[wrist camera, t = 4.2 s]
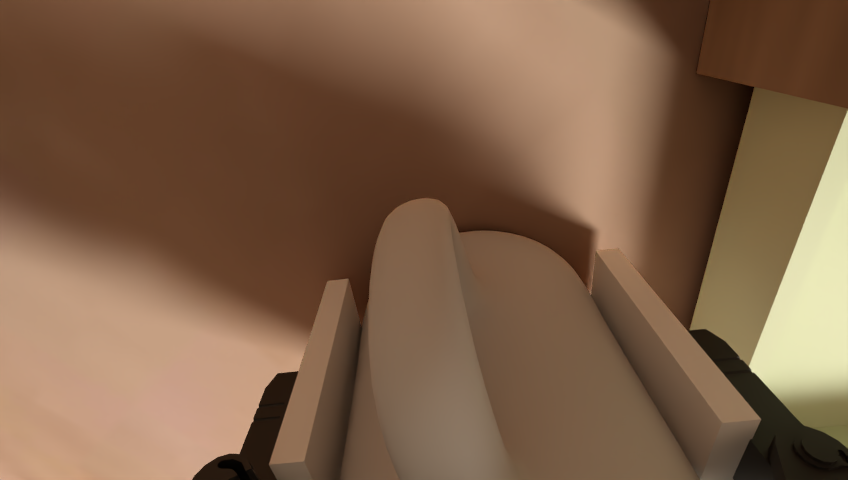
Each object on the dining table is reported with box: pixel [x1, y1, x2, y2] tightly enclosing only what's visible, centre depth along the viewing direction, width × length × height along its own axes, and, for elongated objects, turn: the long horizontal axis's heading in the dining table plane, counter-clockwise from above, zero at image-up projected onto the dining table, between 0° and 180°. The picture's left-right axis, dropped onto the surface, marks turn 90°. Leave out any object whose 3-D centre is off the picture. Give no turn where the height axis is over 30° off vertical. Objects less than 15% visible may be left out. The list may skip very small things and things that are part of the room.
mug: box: [340, 198, 700, 480], centre depth 10 cm, size 12×8×11 cm
